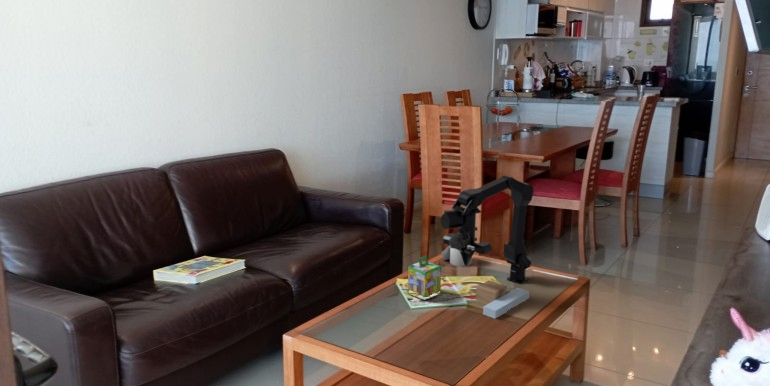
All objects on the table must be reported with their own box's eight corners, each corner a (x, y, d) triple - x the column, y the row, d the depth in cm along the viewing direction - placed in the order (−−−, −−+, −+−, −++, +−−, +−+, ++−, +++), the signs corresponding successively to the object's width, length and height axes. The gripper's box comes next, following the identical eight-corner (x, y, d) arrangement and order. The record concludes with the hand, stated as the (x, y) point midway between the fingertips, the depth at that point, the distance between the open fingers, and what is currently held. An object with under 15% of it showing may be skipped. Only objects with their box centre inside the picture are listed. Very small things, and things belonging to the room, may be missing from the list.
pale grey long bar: (517, 295, 236) (517, 287, 235) (528, 299, 233) (529, 291, 232) (483, 314, 221) (483, 306, 220) (495, 318, 217) (495, 310, 217)
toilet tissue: (438, 259, 272) (439, 241, 270) (468, 257, 274) (468, 239, 272) (444, 267, 264) (444, 248, 261) (474, 265, 266) (475, 246, 263)
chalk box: (425, 301, 231) (425, 264, 227) (407, 294, 237) (407, 257, 233) (441, 294, 237) (442, 257, 234) (423, 287, 244) (423, 251, 240)
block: (487, 295, 237) (488, 280, 235) (506, 301, 232) (507, 286, 230) (475, 302, 231) (476, 286, 229) (494, 308, 226) (495, 292, 224)
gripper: (434, 224, 232) (433, 264, 236) (475, 235, 220) (474, 277, 224) (452, 218, 240) (451, 256, 244) (493, 228, 228) (491, 269, 232)
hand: (466, 265), depth 236 cm, fingers closed
